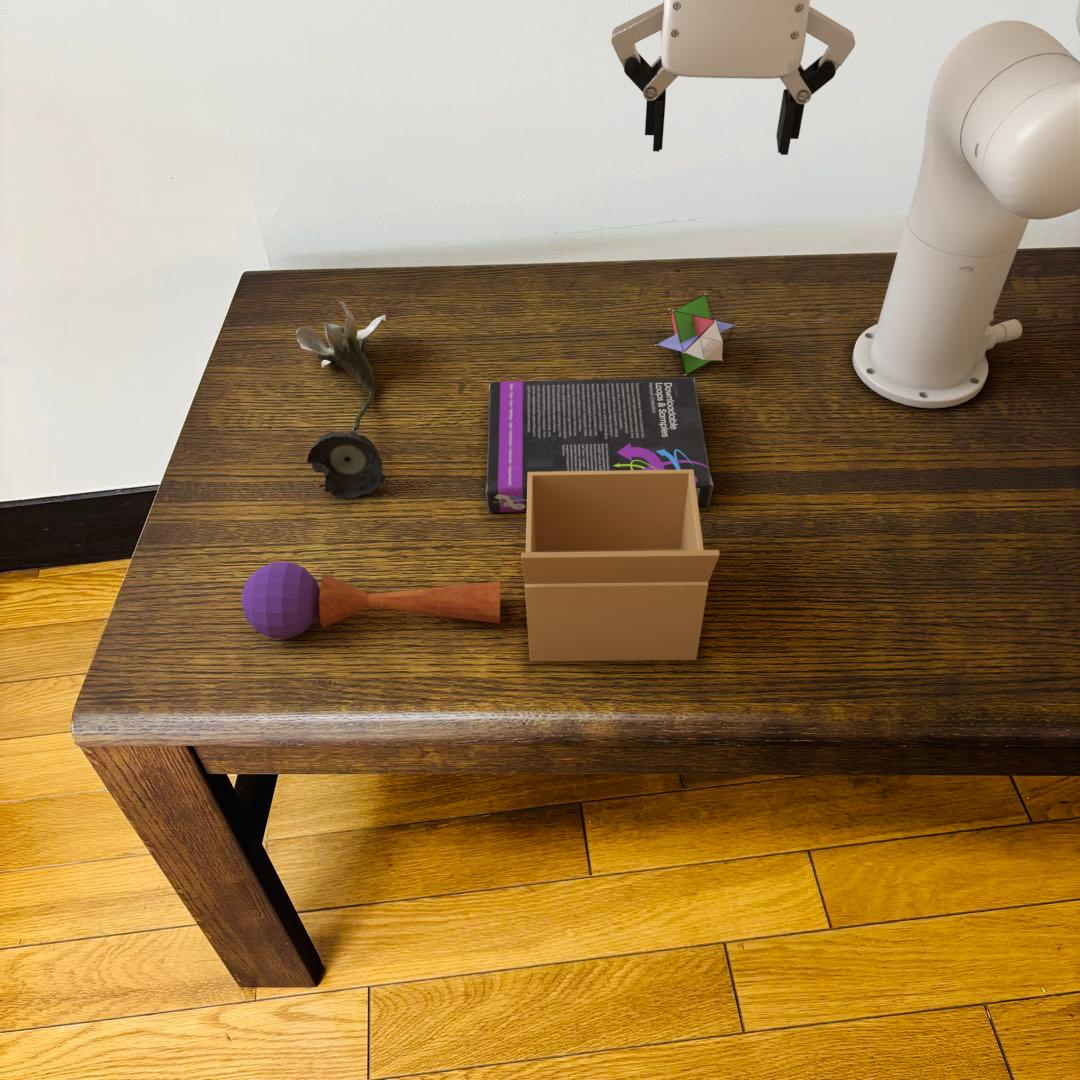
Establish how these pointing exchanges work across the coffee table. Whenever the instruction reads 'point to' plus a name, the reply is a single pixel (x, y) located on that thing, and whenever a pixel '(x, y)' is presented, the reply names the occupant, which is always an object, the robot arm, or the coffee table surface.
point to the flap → (618, 566)
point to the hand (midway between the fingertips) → (719, 144)
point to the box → (591, 432)
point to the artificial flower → (352, 455)
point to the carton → (613, 525)
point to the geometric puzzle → (695, 334)
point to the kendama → (350, 600)
